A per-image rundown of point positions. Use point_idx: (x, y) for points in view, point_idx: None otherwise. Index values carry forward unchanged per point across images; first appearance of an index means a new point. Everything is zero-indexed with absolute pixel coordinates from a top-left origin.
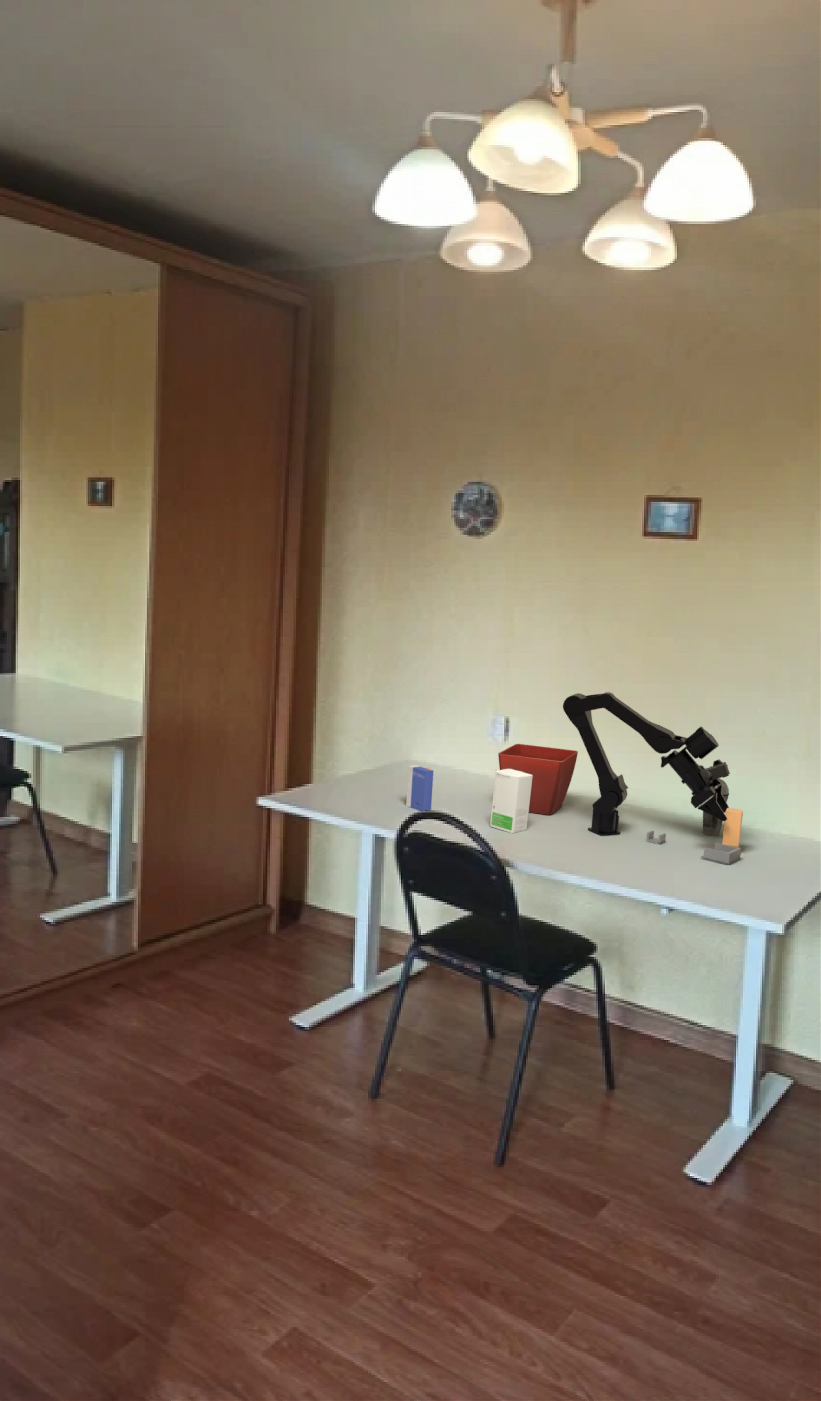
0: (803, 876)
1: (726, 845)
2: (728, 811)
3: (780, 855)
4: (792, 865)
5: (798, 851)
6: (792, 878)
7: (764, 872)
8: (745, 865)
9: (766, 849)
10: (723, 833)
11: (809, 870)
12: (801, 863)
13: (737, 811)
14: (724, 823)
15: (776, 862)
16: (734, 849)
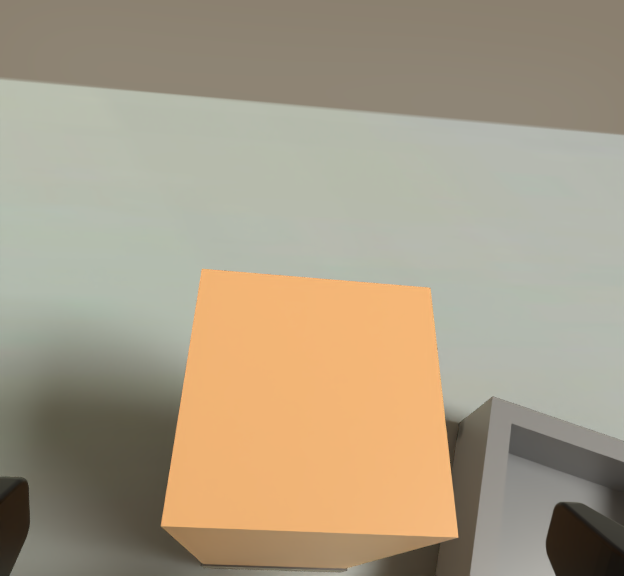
0: (538, 147)
1: (495, 516)
2: (448, 485)
3: (205, 207)
4: (381, 171)
5: (66, 126)
6: (609, 186)
7: (619, 291)
8: (565, 385)
9: (91, 269)
10: (364, 562)
11: (420, 119)
12: (316, 135)
13: (359, 343)
14: (394, 554)
15: (374, 232)
16: (568, 443)
